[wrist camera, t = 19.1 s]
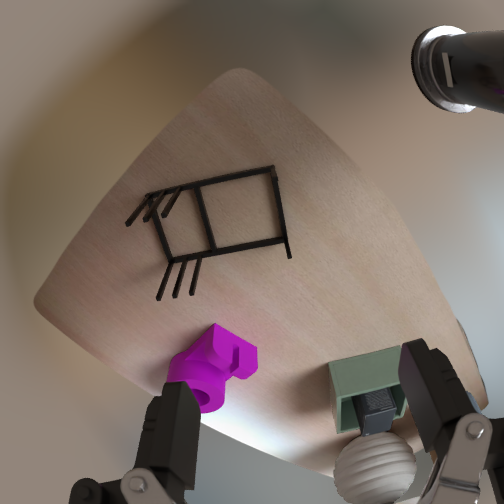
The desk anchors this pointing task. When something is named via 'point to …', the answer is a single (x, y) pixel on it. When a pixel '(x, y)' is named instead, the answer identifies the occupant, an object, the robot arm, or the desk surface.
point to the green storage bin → (363, 384)
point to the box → (374, 411)
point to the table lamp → (375, 470)
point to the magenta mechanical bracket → (213, 365)
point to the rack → (214, 251)
